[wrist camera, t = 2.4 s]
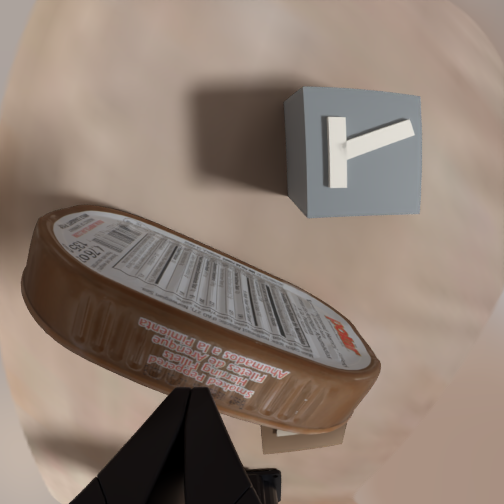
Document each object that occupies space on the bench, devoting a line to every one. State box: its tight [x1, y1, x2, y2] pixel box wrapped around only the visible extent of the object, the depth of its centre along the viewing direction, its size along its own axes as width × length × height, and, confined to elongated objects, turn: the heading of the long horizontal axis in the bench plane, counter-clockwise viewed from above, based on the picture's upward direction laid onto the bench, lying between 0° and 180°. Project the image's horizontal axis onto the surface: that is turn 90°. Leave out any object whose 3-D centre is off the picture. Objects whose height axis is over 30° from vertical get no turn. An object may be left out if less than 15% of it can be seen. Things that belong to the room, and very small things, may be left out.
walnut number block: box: [261, 423, 347, 454], centre depth 17 cm, size 4×4×5 cm
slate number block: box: [284, 87, 422, 218], centre depth 12 cm, size 4×4×5 cm
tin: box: [21, 205, 381, 435], centre depth 12 cm, size 15×3×8 cm, turn 64°
